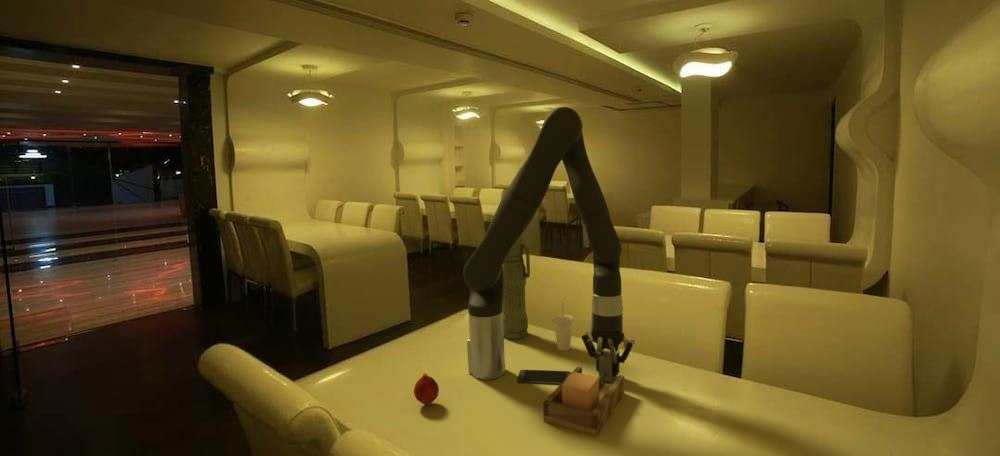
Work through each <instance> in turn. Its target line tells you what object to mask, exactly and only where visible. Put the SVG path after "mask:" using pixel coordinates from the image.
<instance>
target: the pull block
mask: <svg viewBox="0 0 1000 456" xmlns="http://www.w3.org/2000/svg"><path fill="white" fill-rule="evenodd" d="M612 363H613V360H612V355H611V353H610V350H608V349H604V352H603V353H602V354H601V355H600V356H599V373H598V376H594V375H590V374H585V373H582V374H581V373H577V372H573V371H572V372H573V374H572V375H571V376H570V377H569V378H568V379H567V380H566V381H565V382H564V383H563V384H562V404H563V405H567V406H571V407H575V408H579V409H583V410H587V411H591V412H592V411H593V410H594V409H595V407H596V406H597V404H598V403H599V384H600V383H603V381H606V382H612V380H613V379H614V378H615V377H612Z"/></svg>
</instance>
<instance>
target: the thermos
mask: <svg viewBox="0 0 1000 456" xmlns="http://www.w3.org/2000/svg"><path fill="white" fill-rule="evenodd" d="M523 241H524V240H523V237H522V235H521V236H520V237H519V238H518V240H517V241H516V242H515V243H514V245H513V246H512V247H511V249H510V250H509V252H508V254H507V256H506V258H505V260H504V262H503V264H502V267H503V292H504V296H503V304H502V309H503V331H504V338H506V339H505V340H507V339H512V340H511V341H517V340H516V339H521V340H524V339H526V338H527V337H528V336H529V334H528V329H529V323H528V322H529V320H528V319H529V318H528V314H527V309H526V285H527V278H530V277H531V275H530V274H531V266H530V265H531V263H530V249H529V247H528V246H527V245H525V244H524V243H523ZM524 250H525V258H526V259H525V260H526V261H525V263H524V257H523V256H524ZM525 265H526V266H525ZM527 335H528V336H527ZM525 337H526V338H525ZM523 338H524V339H523Z"/></svg>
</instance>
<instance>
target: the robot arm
mask: <svg viewBox="0 0 1000 456" xmlns="http://www.w3.org/2000/svg"><path fill="white" fill-rule="evenodd" d="M561 161H562V163H563V165H564V168H565V172H566V175H567V178H568V182H569V185H570V186H569V187H570V189H571V193H572V197H573V200H574V203H575V206H576V208H577V212H578V213H579V217H580V219H581V222H582V223H583V225H584V227H585V231H586V235H587V238H588V242H589V245H590V249H591V252H592V260H593V263H592V264H593V275H592V276H593V277H592V299H591V301H592V302H591V306H592V307H591V308H592V309H591V312H592V313H591V315H592V316H591V317H592V319H591V320H592V321H591V322H592V330H591V331H590V332H585V333H584V334H583V335H582V336H581V340H582V341H583V344H584V346H585V350H586V352H587V354H588V356H589V357H590V358H594V359H595V362H596V363H595V365H596V366H595V367H596V372H597V373H598V374H599V356H600V355H601V354H602V353H603V352H604V351H605V350H608V351H610V353H611V355H612V360H613V363H612V377H614V378H616V377H618V376H619V375H620V374H619V373H620V372H621V371H620V363H621V364H624V363H625V361H626V360H627V359H628V357H629V355H630V352H632V351H631V350H632V349H633V348H634V345H635V343H636V342H635V340H634V339H628V338H626V337H625V334H624V332H623V330H624V329H623V325H624V324H623V320H624V319H623V317H624V316H623V314H624V313H623V311H624V307H623V298H622V275H621V272H620V271H621V270H620V265H621V263H620V262H621V261H620V260H621V254H622V251H623V247H622V243H621V240H620V239H619V236H618V233H617V232H616V228H615V226H614V224H613V222H612V219H611V215H610V210H609V207H608V205H607V203H606V202H607V201H606V199H605V197H604V194H603V191H602V188H601V186H600V184H599V181H598V179H597V177H596V175H595V172H594V170H593V168H592V165H591V162H590V159H589V156H588V153H587V149H586V145H585V139H584V135H583V121H582V119H581V117H580V115H579V113H577V111H576V110H574V109H573V108H570V107H568V106H560V107H556V108H555V109H552V110H551V111H549V113H548V114H547V115H546V116H545V119H543V123H542V126H541V128H540V130H539V133H538V136H537V138H536V140H535V142H534V144H533V147H532V149H531V151H530V153H529V154H528V157H527V158H526V160H525V161H524V163H523V164H522V165H521V167H520V168H519V170H518V171H517V173H516V174H515V176H514V178H513V179H512V181H511V183H510V184H509V186H508V188H507V189H506V192H505V193H504V195H503V197H502V198H501V201H500V203H499V205H498V206H497V208H496V211H495V213H494V215H493V217H492V219H491V221H490V223H489V225H488V227H487V231H486V233H485V235H484V236H483V238H482V240H481V241H480V243H479V244H478V246H477V247H476V249H475V251H473V253H472V254H471V256H470V257H469V259H467V261H466V263H465V264H464V267H463V270H462V271H463V273H462V277H463V281H464V283H465V285H466V286H467V287H468V288H469V289H470V291H469V292H470V293H469V294H470V295H469V299H468V302H467V303H468V304H467V313H468V327H469V338H468V339H467V340H466V348H467V349H466V350H467V351H466V352H467V367H468V374H470V373H471V375H472V376H473V377H474V378H476V379H478V378H479V380H484V381H485V380H486V381H488V380H496V379H498V378H501V377H502V376H503V375H505V374H506V359H505V357H506V355H505V354H506V353H505V339H504V331H503V309H502V304H503V296H504V292H503V267H502V264H503V262H504V260H505V258H506V256H507V254H508V252H509V250H510V249H511V247H512V246H513V245H514V243H515V242H516V241H517V240H518V238H519V237H520V236H521V237H522V234H523V233H524V232H525V231H526V229H527V227H528V226H529V225H530V223H531V222H532V221H533V218H535V215H536V214H537V212H538V210H539V208H540V207H541V205H542V202H543V200H544V199H545V196H547V195H546V194H547V193H548V189H549V188H550V184H551V182H552V179H553V176H554V175H555V174H554V173H555V172H556V169H557V167H558V166H559V165H560V162H561ZM593 340H594V342H595V343H596V344H597V345H596V348H595V345H594V342H593ZM622 342H623V348H624V350H623V352H622V355H620V345H621V344H622Z"/></svg>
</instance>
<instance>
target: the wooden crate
mask: <svg viewBox="0 0 1000 456" xmlns="http://www.w3.org/2000/svg"><path fill="white" fill-rule="evenodd" d="M573 372H577V373H581V374H583V367H582V366H576V367H575V369H573V370H572V372H571V374H570V375H569V376H568V377H567V378H566V379H565V380H564V381H563V382H562V383H561V384H560V385H557V387H556V388H555V389H554V390H553V391H552V393H550V395H549V396H547V398H546V399H545V400H544V401H543V403H542V404H543V405H542V406H543V407H542V409H543V410H542V411H543V423H547V424H551V425H554V426H558V427H561V428H563V429H564V428H565V429H568V430H573V431H575V432H579V433H583V434H587V435H590V436H594V437H597V436H598V435H599V434H600V432H601V430H602V428H603V427H604V426H605V424H606V422H607V421H608V420H609V418H610V416H611V415H612V413H613V412H614V410H615V409H616V407H617V406H618V404H619V403H620V401H621V400H622V398H623V396H624V395H625V375H623V374H618V375H617V376H616V377H617V378H616V379H615V381H613V383H612V384H609V383H605V382H601V383H600V384H599V403H598V404H597V406H596V407H595V409H594V410H593V411H592V412H591V411H587V410H583V409H579V408H575V407H571V406H567V405H563V404H562V384H563V383H564V382H565V381H566V380H567V379H568V378H569V377H570V376H571V375H572V374H573Z"/></svg>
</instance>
